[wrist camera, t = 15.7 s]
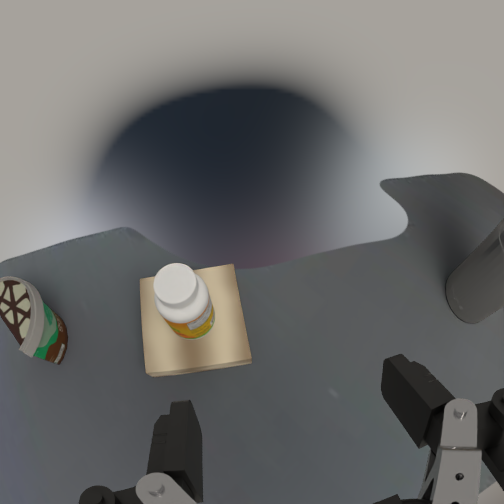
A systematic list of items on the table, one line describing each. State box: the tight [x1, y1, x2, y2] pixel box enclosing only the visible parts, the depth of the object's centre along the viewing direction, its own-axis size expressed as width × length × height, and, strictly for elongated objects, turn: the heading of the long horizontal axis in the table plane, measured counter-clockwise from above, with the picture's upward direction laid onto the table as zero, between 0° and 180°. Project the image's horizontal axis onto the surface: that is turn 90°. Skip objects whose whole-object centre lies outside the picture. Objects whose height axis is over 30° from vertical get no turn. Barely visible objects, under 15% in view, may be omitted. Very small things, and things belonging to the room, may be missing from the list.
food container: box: [0, 276, 68, 365], centre depth 33 cm, size 12×6×10 cm, turn 56°
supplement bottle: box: [153, 263, 215, 340], centre depth 31 cm, size 5×5×10 cm
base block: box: [140, 264, 252, 377], centre depth 37 cm, size 12×12×3 cm
